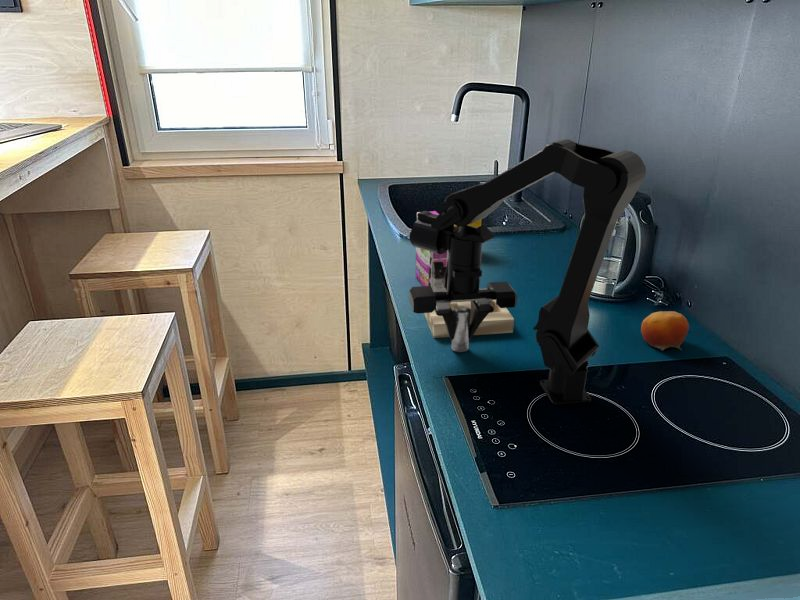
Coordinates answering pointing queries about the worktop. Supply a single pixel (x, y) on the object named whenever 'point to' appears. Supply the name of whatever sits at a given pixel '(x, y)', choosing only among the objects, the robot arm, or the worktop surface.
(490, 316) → the socket block
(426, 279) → the candy bar box
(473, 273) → the robot arm
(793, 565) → the worktop surface
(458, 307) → the pin
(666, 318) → the fruit
